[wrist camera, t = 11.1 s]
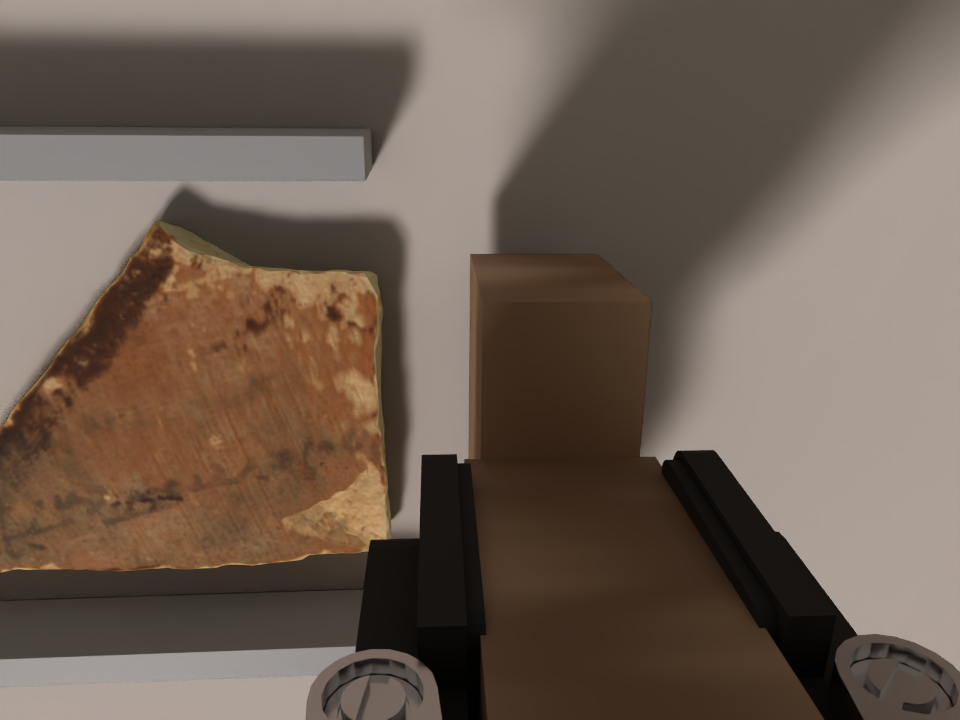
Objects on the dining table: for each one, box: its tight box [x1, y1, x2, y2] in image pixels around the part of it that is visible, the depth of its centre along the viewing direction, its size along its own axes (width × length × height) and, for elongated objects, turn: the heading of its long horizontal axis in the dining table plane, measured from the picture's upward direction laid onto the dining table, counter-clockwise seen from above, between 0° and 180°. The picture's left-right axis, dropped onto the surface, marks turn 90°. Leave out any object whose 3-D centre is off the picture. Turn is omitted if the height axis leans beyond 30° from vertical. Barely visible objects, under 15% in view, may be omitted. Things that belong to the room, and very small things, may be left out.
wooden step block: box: [464, 254, 824, 720], centre depth 11 cm, size 3×8×11 cm, turn 179°
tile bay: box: [0, 126, 372, 688], centre depth 16 cm, size 14×12×2 cm
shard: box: [0, 221, 392, 573], centre depth 16 cm, size 11×8×2 cm
